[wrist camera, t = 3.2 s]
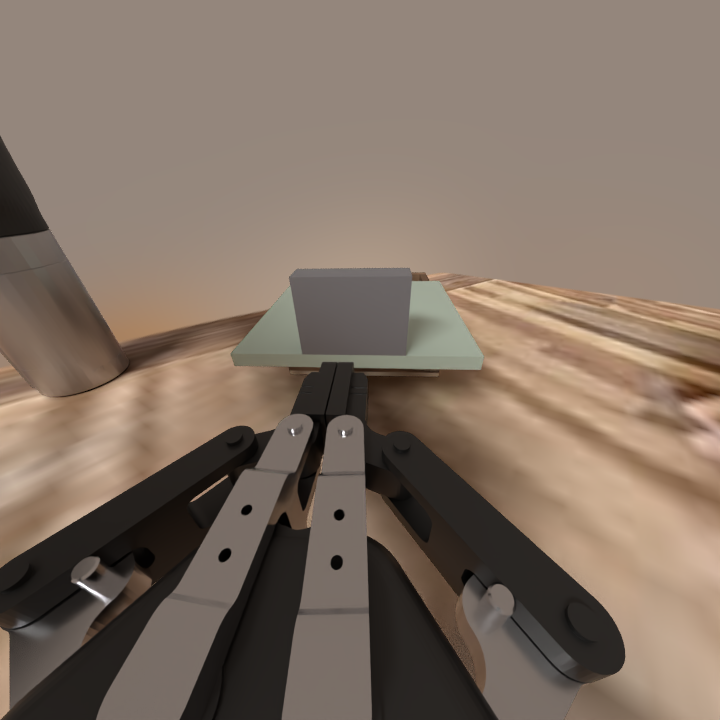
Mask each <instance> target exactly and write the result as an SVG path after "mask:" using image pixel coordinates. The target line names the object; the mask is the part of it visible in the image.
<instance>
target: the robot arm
mask: <svg viewBox="0 0 720 720" xmlns="http://www.w3.org/2000/svg"><path fill="white" fill-rule="evenodd" d="M0 353H1V354H2V355H3V356H4V357H5V358H6V359H7V360H8V361H9V363H10V364H11V365H12V366H13V367H14V368H15V369H16V370H17V371H18V372H19V374H20V375H21V376H22V377H23V378H24V379H25V380H26V381H27V382H28V384H29V385H30V386H31V387H32V388H36V389H37V390H38V391H39V392H40V393H41V394H42V395H45V396H49V397H58V396H66V395H72V394H76V393H80V392H83V391H86V390H89V389H92V388H95V387H97V386H99V385H102V384H104V383H106V382H108V381H110V380H112V379H113V378H115V377H116V376H118V375H119V374H121V373H122V372H123V371H124V370H125V369H126V368H127V367H128V364H129V360H128V358H127V356H126V355H125V353H124V351H123V350H122V348H121V346H120V345H119V343H118V341H117V340H116V338H115V336H114V335H113V333H112V331H111V330H110V328H109V326H108V325H107V323H106V321H105V320H104V318H103V316H102V315H101V313H100V311H99V310H98V308H97V306H96V305H95V303H94V301H93V300H92V298H91V296H90V295H89V293H88V291H87V290H86V288H85V287H84V285H83V283H82V282H81V280H80V278H79V277H78V275H77V274H76V272H75V270H74V268H73V267H72V265H71V263H70V262H69V260H68V259H67V257H66V255H65V254H64V252H63V250H62V249H61V247H60V245H59V244H58V242H57V240H56V239H55V237H54V235H53V234H52V232H51V230H50V229H49V227H48V226H47V224H46V222H45V220H44V219H43V217H42V215H41V213H40V211H39V209H38V207H37V204H36V202H35V200H34V197H33V195H32V193H31V191H30V189H29V187H28V186H27V184H26V182H25V180H24V178H23V177H22V175H21V173H20V172H19V170H18V168H17V166H16V164H15V163H14V161H13V159H12V157H11V155H10V153H9V152H8V150H7V148H6V146H5V144H4V142H3V140H2V139H1V137H0ZM367 415H368V379H367V377H366V375H365V374H364V373H355V372H354V362H322V364H321V367H320V370H319V372H311V373H310V374H309V375H308V376H307V377H305V379H304V381H303V384H302V387H301V389H300V391H299V394H298V396H297V399H296V401H295V404H294V407H293V409H292V412H291V414H290V416H287V417H285V418H284V419H283V420H281V421H280V423H279V424H278V426H277V427H276V429H274V430H271V431H267V432H262V433H258V434H255V433H254V431H253V429H251V428H250V427H248V426H236V427H233V428H230V429H228V430H226V431H225V432H223V433H221V434H220V435H218V436H216V437H215V438H213V439H211V440H210V441H208V442H206V443H205V444H203V445H201V446H200V447H198V448H196V449H195V450H193V451H191V452H190V453H188V454H186V455H185V456H183V457H181V458H180V459H178V460H176V461H175V462H173V463H171V464H170V465H168V466H166V467H165V468H163V469H162V470H160V471H158V472H157V473H155V474H153V475H152V476H150V477H148V478H147V479H145V480H143V481H142V482H140V483H138V484H137V485H135V486H133V487H132V488H130V489H128V490H127V491H125V492H123V493H122V494H120V495H118V496H117V497H115V498H113V499H112V500H110V501H108V502H107V503H105V504H103V505H102V506H100V507H98V508H97V509H95V510H93V511H92V512H90V513H88V514H87V515H85V516H83V517H82V518H80V519H79V520H77V521H75V522H74V523H72V524H70V525H69V526H67V527H65V528H64V529H62V530H60V531H59V532H57V533H55V534H54V535H52V536H50V537H49V538H47V539H45V540H44V541H42V542H40V543H39V544H37V545H35V546H34V547H32V548H30V549H29V550H27V551H25V552H24V553H22V554H20V555H19V556H17V557H16V558H14V559H12V560H11V561H9V562H8V563H7V564H5V565H4V566H3V567H1V568H0V627H1V628H2V629H3V630H5V631H8V632H9V635H10V710H9V712H8V713H7V714H6V715H5V716H4V717H3V718H2V719H1V720H564V718H565V716H566V714H567V712H568V710H569V708H570V706H571V704H572V702H573V700H574V698H575V696H576V694H577V692H578V690H579V688H580V687H582V686H585V685H587V684H590V683H592V682H595V681H597V680H600V679H603V678H605V677H608V676H610V675H613V674H615V673H617V672H618V671H619V670H620V669H621V668H622V666H623V664H624V661H625V648H624V643H623V640H622V637H621V634H620V632H619V630H618V627H617V626H616V624H615V622H614V621H613V619H612V617H611V616H610V615H609V613H608V612H607V611H606V609H605V608H604V607H603V606H602V605H601V604H600V603H599V602H598V601H597V600H596V599H595V598H594V597H593V596H592V595H591V594H590V593H588V592H587V591H586V590H585V589H584V588H583V587H582V586H581V585H580V584H578V583H577V582H576V581H575V580H574V579H573V578H572V577H571V576H570V575H568V574H567V573H566V572H565V571H564V570H563V569H562V568H561V567H560V566H558V565H557V564H556V563H555V562H554V561H553V560H552V559H551V558H550V557H548V556H547V555H546V554H545V553H544V552H543V551H542V550H541V549H540V548H538V547H537V546H536V545H535V544H534V543H533V542H532V541H531V540H530V539H529V538H527V537H526V536H525V535H524V534H523V533H522V532H521V531H520V530H519V529H517V528H516V527H515V526H514V525H513V524H512V523H511V522H510V521H509V520H507V519H506V518H505V517H504V516H503V515H502V514H501V513H500V512H499V511H497V510H496V509H495V508H494V507H493V506H492V505H491V504H490V503H489V502H487V501H486V500H485V499H484V498H483V497H482V496H481V495H480V494H479V493H477V492H476V491H475V490H474V489H473V488H472V487H471V486H470V485H469V484H467V483H466V482H465V481H464V480H463V479H462V478H461V477H460V476H459V475H458V474H456V473H455V472H454V471H453V470H452V469H451V468H450V467H449V466H448V465H446V464H445V463H444V462H443V461H442V460H441V459H440V458H439V457H438V456H436V455H435V454H434V453H433V452H432V451H431V450H430V449H429V448H428V447H426V446H425V445H424V444H423V443H422V442H421V441H420V440H419V439H418V438H416V437H415V436H414V435H412V434H410V433H408V432H404V431H396V432H392V433H390V434H388V435H387V436H383V435H380V434H378V433H375V432H373V431H372V430H371V429H370V428H369V427H368V426H367ZM323 454H324V457H323V466H322V472H321V466H320V464H321V460H322V455H323ZM320 472H321V474H320ZM226 475H228V477H227V478H226V479H225V480H223V481H222V482H220V483H219V484H218V485H216V486H215V487H214V488H212V489H211V490H209V491H208V492H207V493H205V494H204V495H202V496H201V497H200V498H198V499H197V500H195V501H193V502H190V501H191V500H192V499H193V498H195V497H196V496H197V495H199V494H200V493H202V492H203V491H204V490H206V489H207V488H209V487H210V486H211V485H213V484H214V483H216V482H217V481H219V480H220V479H221V478H223V477H224V476H226ZM365 488H367V489H369V490H372V491H374V492H377V493H379V494H381V496H382V498H383V500H384V501H385V503H386V504H387V505H388V506H389V508H390V509H391V510H392V512H393V513H394V514H395V515H396V517H397V518H398V519H399V521H400V522H401V523H402V524H403V526H404V527H405V528H406V530H407V531H408V532H409V533H410V535H411V536H412V537H413V539H414V540H415V541H416V542H417V544H418V545H419V546H420V548H421V549H422V550H423V551H424V553H425V554H426V555H427V557H428V558H429V559H430V560H431V562H432V563H433V564H434V566H435V567H436V568H437V569H438V571H439V572H440V573H441V575H442V576H443V577H444V578H445V580H446V581H447V582H448V584H449V585H450V586H451V587H452V589H453V590H454V591H455V593H456V594H457V595H458V596H459V598H458V601H457V603H456V608H455V619H456V624H457V627H458V631H459V633H460V635H461V637H462V639H463V641H464V643H465V644H466V646H467V648H468V650H469V652H470V655H471V657H472V661H473V664H474V669H475V677H476V683H475V682H474V680H473V679H472V677H471V675H470V674H469V672H468V671H467V669H466V668H465V666H464V664H463V663H462V661H461V660H460V658H459V657H458V655H457V654H456V652H455V650H454V649H453V647H452V646H451V644H450V643H449V641H448V639H447V638H446V636H445V635H444V633H443V632H442V630H441V628H440V627H439V625H438V624H437V622H436V621H435V619H434V618H433V616H432V614H431V613H430V611H429V610H428V608H427V607H426V605H425V603H424V602H423V600H422V599H421V597H420V596H419V594H418V593H417V591H416V589H415V588H414V586H413V585H412V583H411V582H410V580H409V578H408V577H407V575H406V574H405V572H404V571H403V569H402V567H401V566H400V564H399V563H398V561H397V560H396V559H395V557H394V556H393V555H392V554H391V553H390V552H389V551H388V550H387V549H386V548H385V547H384V546H383V545H381V544H380V543H379V542H377V541H376V540H374V539H372V538H370V537H368V536H367V528H366V493H365ZM315 489H316V492H315ZM314 492H315V500H314V507H313V515H312V522H311V527H309V528H307V517H308V513H309V509H310V506H311V503H312V499H313V496H314ZM161 577H162V578H161ZM160 578H161V579H160ZM155 582H156V583H155ZM154 583H155V584H154ZM153 584H154V585H153Z"/></svg>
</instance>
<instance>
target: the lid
mask: <svg viewBox="0 0 720 720" xmlns="http://www.w3.org/2000/svg"><path fill="white" fill-rule="evenodd" d="M289 280H290V286H289V287H288V288H287V290H286V291H285V292H284V293H283V294H282V295H281V296H280V298H279V299H278V300H277V301H276V302H275V303H274V304H273V306H272V307H271V308H270V309H269V310H268V311H267V312H266V314H265V315H264V316H263V317H262V318H261V319H260V320H259V322H258V323H257V324H256V325H255V326H254V327H253V328H252V330H251V331H250V332H249V333H248V334H247V335H246V336H245V338H244V339H243V340H242V341H241V342H240V343H239V344H238V346H237V347H236V348H235V349H234V350H233V351H232V352H231V356H232V359H233V362H234V365H235V366H270V367H321V364H322V362H354V368H397V369H460V370H481V367H482V363H483V360H484V355H483V354H482V352H481V350H480V349H479V347H478V345H477V344H476V342H475V340H474V339H473V337H472V335H471V334H470V332H469V330H468V329H467V327H466V325H465V324H464V322H463V320H462V318H461V317H460V315H459V313H458V312H457V310H456V308H455V307H454V305H453V303H452V302H451V300H450V298H449V297H448V295H447V293H446V292H445V290H444V288H443V287H442V285H441V283H440V282H439V281H412V274H411V271H410V268H357V269H356V268H355V269H352V268H350V269H349V268H348V269H296V270H295V271H294V273H293V274H292V275H291V276H290V277H289Z"/></svg>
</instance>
